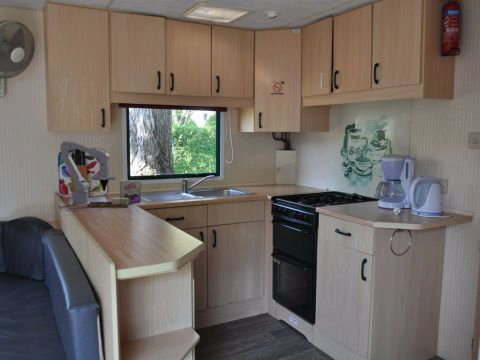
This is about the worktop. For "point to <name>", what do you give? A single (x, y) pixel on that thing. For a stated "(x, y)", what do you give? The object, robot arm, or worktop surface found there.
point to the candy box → (130, 190)
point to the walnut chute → (106, 204)
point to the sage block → (123, 200)
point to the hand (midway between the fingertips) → (104, 190)
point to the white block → (115, 200)
